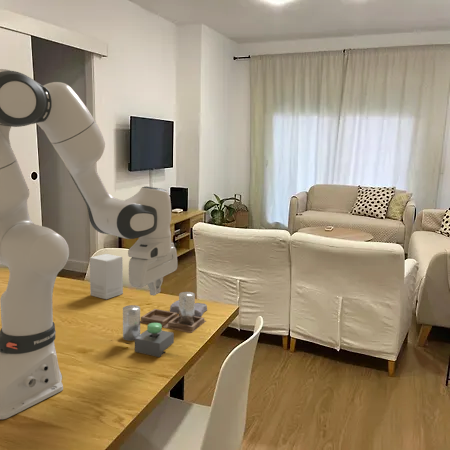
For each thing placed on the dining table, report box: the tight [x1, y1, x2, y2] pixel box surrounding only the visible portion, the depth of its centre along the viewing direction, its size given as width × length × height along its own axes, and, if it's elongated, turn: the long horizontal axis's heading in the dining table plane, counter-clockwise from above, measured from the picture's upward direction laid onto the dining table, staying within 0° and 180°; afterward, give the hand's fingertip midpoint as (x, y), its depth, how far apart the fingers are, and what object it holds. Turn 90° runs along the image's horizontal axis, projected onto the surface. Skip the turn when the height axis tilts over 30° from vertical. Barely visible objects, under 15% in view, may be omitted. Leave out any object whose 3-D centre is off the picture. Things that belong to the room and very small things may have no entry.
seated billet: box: [178, 291, 196, 326], centre depth 144 cm, size 5×5×10 cm
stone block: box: [169, 299, 208, 317], centre depth 158 cm, size 12×5×10 cm
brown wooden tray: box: [140, 308, 207, 334], centre depth 147 cm, size 11×19×2 cm, turn 68°
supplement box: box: [89, 253, 124, 300], centre depth 173 cm, size 9×9×15 cm
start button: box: [146, 323, 163, 338], centre depth 128 cm, size 4×4×5 cm
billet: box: [122, 304, 141, 345], centre depth 133 cm, size 5×5×10 cm
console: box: [134, 329, 175, 358], centre depth 129 cm, size 8×8×4 cm
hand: (155, 293), depth 126 cm, fingers closed
